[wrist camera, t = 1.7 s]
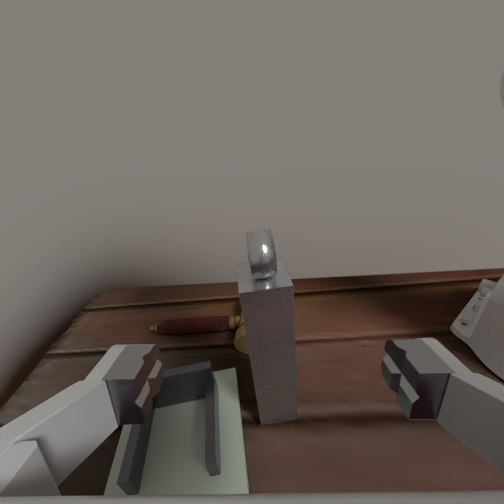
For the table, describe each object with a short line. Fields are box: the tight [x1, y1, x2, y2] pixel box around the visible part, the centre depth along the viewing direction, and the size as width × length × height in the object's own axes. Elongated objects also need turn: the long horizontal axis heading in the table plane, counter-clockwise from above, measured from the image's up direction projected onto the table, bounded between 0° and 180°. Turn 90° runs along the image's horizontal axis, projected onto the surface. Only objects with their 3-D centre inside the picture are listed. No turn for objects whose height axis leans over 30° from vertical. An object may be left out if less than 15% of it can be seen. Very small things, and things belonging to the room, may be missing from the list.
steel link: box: [237, 229, 297, 426], centre depth 25 cm, size 4×4×24 cm
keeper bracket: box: [104, 361, 249, 495], centre depth 27 cm, size 14×14×7 cm
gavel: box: [150, 304, 249, 354], centre depth 43 cm, size 21×5×10 cm
